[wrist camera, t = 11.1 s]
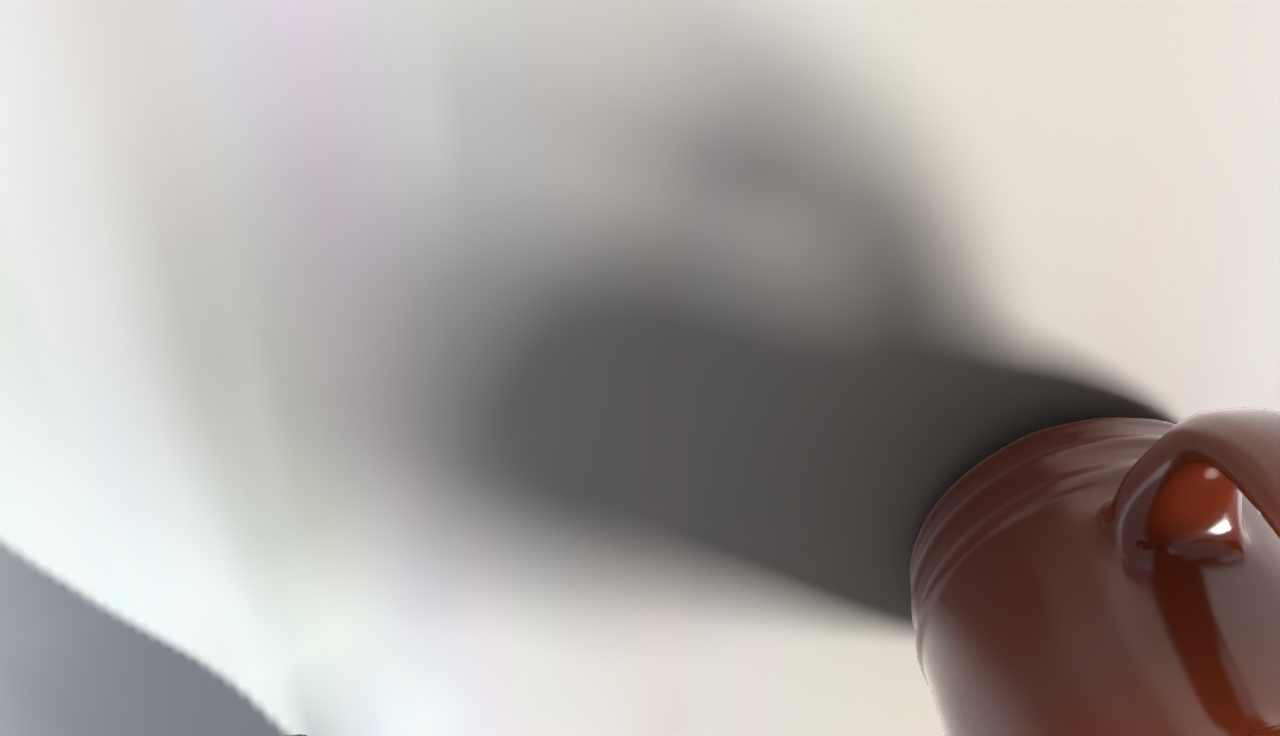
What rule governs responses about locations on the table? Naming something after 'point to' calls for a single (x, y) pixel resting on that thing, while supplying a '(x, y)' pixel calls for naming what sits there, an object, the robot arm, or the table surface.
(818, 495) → the table surface
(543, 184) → the table surface
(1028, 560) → the mug
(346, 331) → the table surface
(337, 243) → the table surface
